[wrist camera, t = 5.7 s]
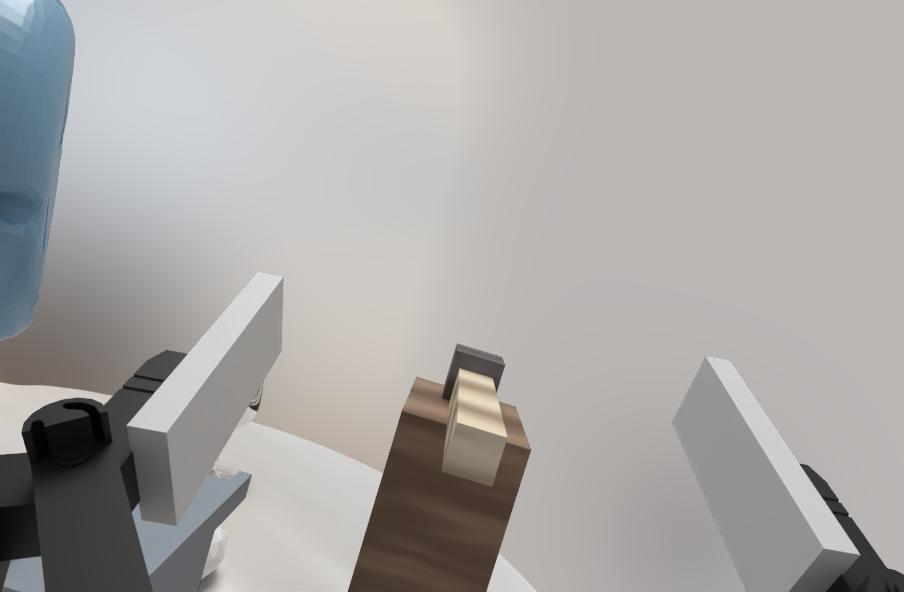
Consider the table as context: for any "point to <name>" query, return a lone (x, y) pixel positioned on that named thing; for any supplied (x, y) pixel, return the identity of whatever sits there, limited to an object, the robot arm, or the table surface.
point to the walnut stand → (437, 507)
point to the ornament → (215, 551)
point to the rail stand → (163, 541)
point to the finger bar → (474, 416)
